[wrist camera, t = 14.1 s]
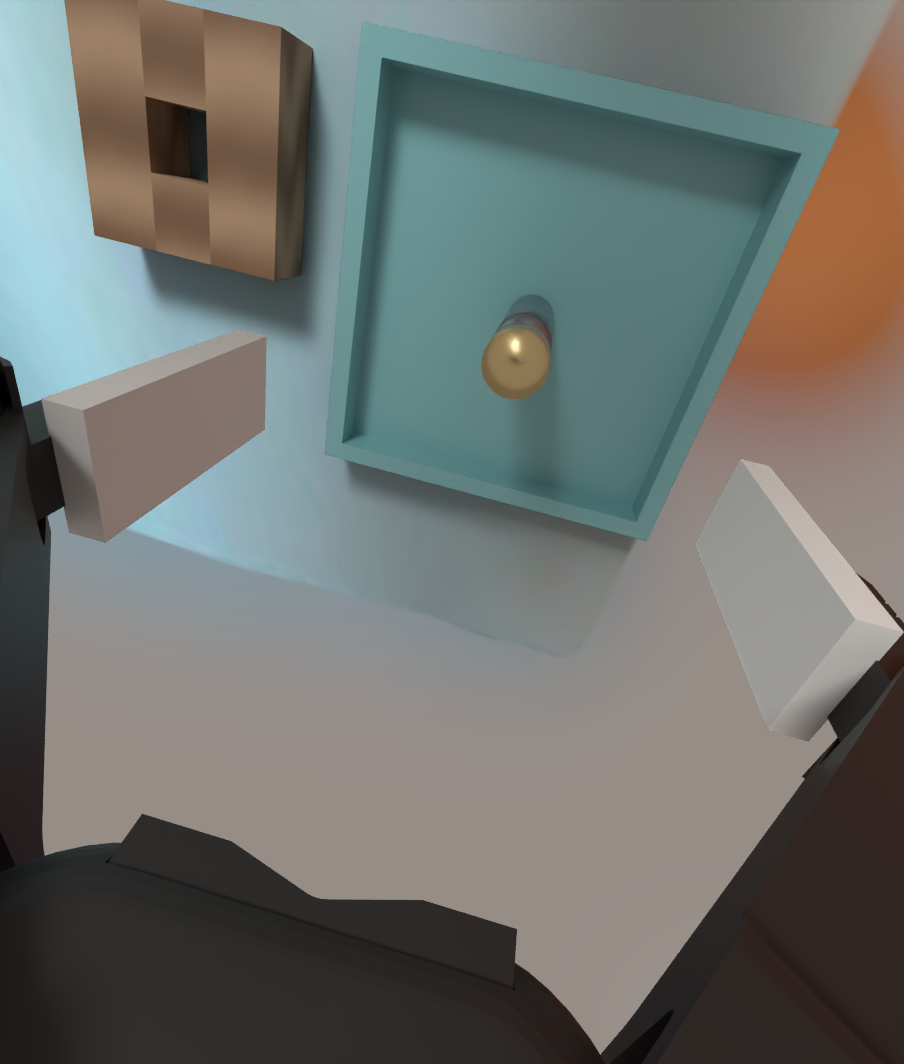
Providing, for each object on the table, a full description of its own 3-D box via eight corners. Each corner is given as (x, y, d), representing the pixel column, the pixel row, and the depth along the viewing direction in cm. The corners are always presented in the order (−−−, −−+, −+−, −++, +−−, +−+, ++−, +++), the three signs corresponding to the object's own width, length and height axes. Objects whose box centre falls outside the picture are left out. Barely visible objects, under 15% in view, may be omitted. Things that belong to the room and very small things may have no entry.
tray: (382, 40, 30) (362, 20, 27) (811, 139, 29) (840, 129, 26) (341, 438, 43) (324, 454, 40) (640, 518, 41) (646, 541, 38)
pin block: (116, 3, 31) (61, -24, 28) (312, 48, 31) (281, 26, 27) (137, 233, 38) (94, 235, 34) (300, 275, 37) (274, 280, 34)
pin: (513, 289, 34) (490, 322, 23) (560, 300, 34) (558, 339, 23) (502, 337, 36) (474, 390, 25) (546, 348, 36) (538, 406, 25)
